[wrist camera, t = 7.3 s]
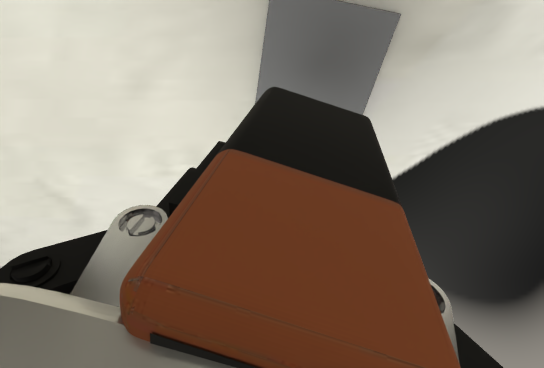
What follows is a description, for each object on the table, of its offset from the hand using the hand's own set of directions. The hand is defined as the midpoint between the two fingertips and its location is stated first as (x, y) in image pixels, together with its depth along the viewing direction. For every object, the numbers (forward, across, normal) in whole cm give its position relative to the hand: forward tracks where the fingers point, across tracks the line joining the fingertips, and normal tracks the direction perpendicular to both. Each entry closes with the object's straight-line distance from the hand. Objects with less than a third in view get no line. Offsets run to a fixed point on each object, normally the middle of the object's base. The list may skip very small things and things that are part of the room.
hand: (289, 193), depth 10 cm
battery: (+2, 0, 0) cm, 2 cm away
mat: (+19, 0, 0) cm, 19 cm away
